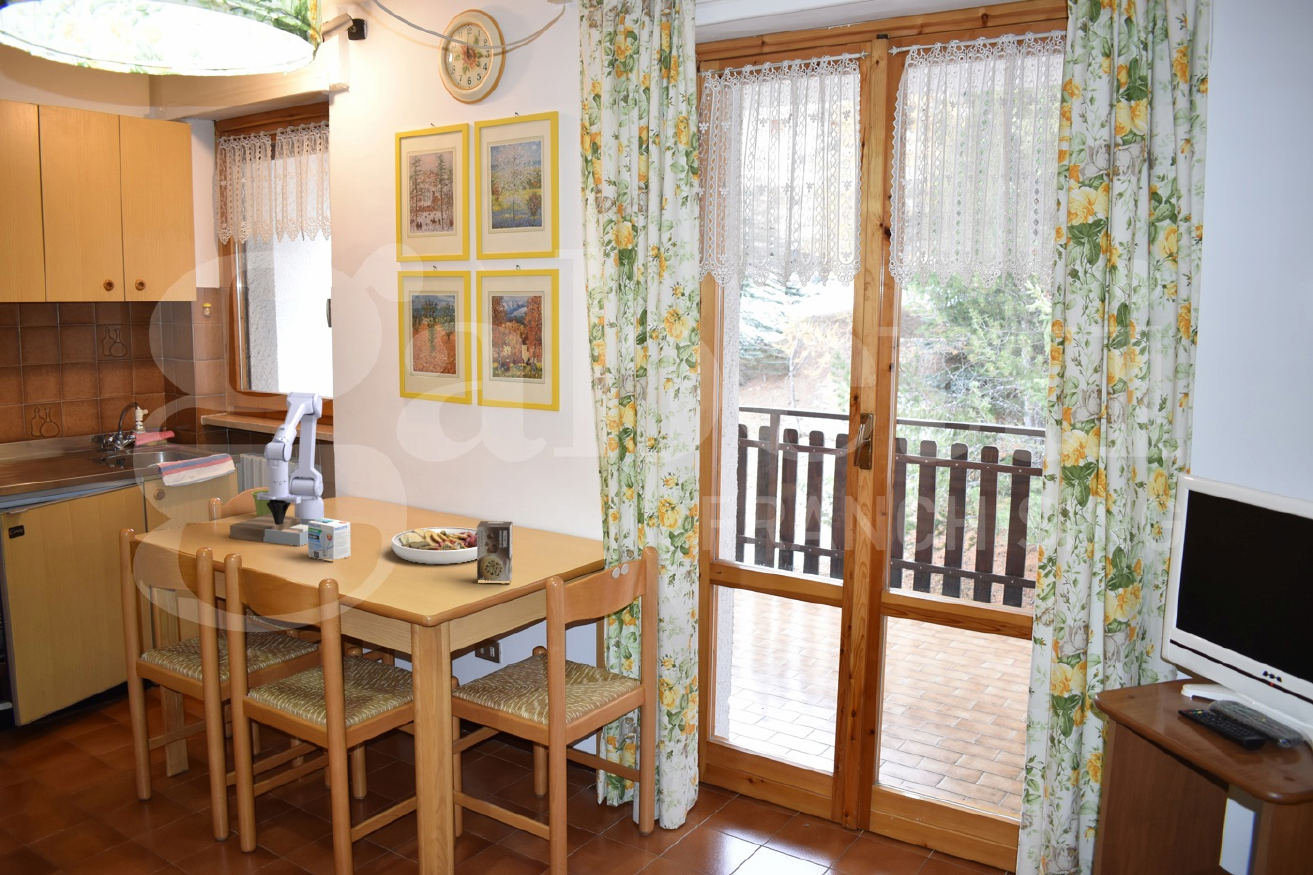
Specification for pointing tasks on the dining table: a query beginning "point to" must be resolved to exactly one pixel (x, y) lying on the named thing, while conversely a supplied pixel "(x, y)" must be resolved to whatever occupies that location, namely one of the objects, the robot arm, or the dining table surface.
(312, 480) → the robot arm
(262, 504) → the plant pot
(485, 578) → the coffee box
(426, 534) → the bowl
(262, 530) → the dark brown flat block
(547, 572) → the dining table surface
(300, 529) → the cream tile
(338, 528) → the light bulb box
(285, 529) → the terracotta tile
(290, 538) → the box
